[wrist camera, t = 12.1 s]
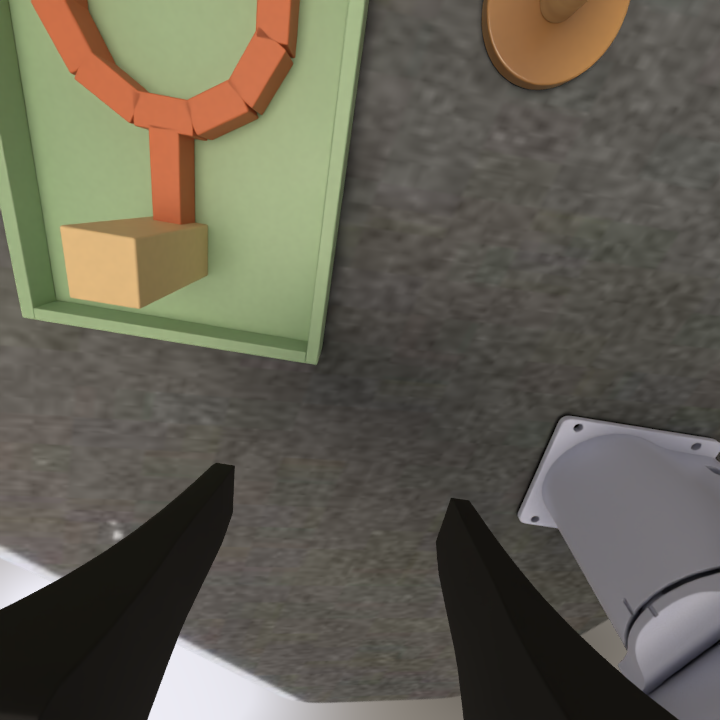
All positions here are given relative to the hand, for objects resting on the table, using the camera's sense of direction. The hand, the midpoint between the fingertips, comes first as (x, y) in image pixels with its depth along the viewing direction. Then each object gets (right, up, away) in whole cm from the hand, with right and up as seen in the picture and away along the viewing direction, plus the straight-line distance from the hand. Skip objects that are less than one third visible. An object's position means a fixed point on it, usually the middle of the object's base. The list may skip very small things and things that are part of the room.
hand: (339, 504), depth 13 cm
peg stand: (+8, +18, +2) cm, 20 cm away
